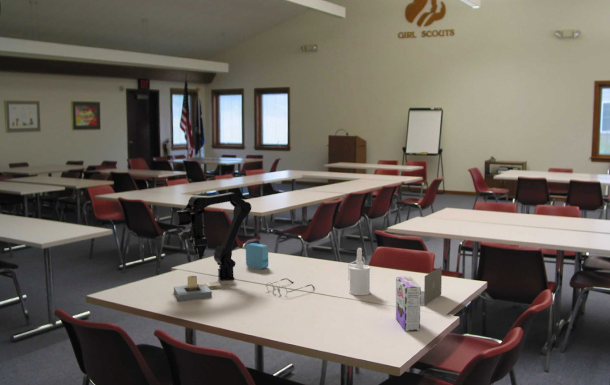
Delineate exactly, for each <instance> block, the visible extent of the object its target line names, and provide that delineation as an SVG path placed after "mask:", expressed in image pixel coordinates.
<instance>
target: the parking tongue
mask: <svg viewBox="0 0 610 385" xmlns="http://www.w3.org/2000/svg"><path fill="white" fill-rule="evenodd" d="M205 284H206V285H207V286H208V288H209V289H210V290H215V289H216V290H217V289H222V284H221V282H220V281H211V282H205Z"/></svg>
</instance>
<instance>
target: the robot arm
mask: <svg viewBox="0 0 610 385" xmlns="http://www.w3.org/2000/svg"><path fill="white" fill-rule="evenodd" d="M187 202H188V203H187V204H186V206H185V208H184V209H183V210H176V211H175V214H174V217H173V223H174V225H175V226H176V227H180V226H181V227H182V226H189V225H190V226H189V228H188V229H186V230H183V231H180V232H179V233H178V237H179V238H180V241H181V242H184V241H186V240H188V241H189V242H190V243H191V244H192V248H193V251H194V255H195V256H196V255H197V256H198V259H199V260H202V258H203V256H204V254H205V251H206V248H207V246H208V245H209V239H207V238H206V237H205V236H206V235H205V234H204V233H205V232H204V231H205V230H204V229H205V225H204V214H208V211H207V210H206V208H209V207H210V206H213V205H217V204H218V205H219V204H224V203H228V202H229V203H230V205H231V206H232V207H233V211H232V213H233V218H232V220H231V222H230V225H229V227H228V230H227V232H226V235H225V237H224V240H223V241H222V244H221V245H217V246H215V247H216V248H215V250H214V252H213V253H212V254H213V259H214V261H215V262H216V264H217V265H218V267H219V268H218V269H217V270H218V271H217V275H218V276H217V277H218V278H219V279H220V280H221V281H229V280H235V277H234V267H235V266H236V262H235V261H234V260H233V259H232V256H233V246H234V243H235V242H236V238H237V236H238V233H239V232H240V229H241V226H242V224H243V222H244V220H245V219H246V218H248V216H249V214H250V213H251V212H252V209H253V208H252V205H251V203H250V202H249V201H246V200H245V199H243V198H242V197H240V196H239V195H237V193H235V192H226V193H221V194H216V195H215V194H214V195H209V196H200V195H197V196H196V195H195V196H194V195H193V196H191V197H189V199H188V201H187Z"/></svg>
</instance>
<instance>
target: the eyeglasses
mask: <svg viewBox="0 0 610 385" xmlns="http://www.w3.org/2000/svg"><path fill="white" fill-rule="evenodd" d="M284 280H288V281H289V282H290V283H291V284H294V283H295V282H294V281H292V280H290V279H289V278H283V279H280V280H277V281H274V282H269V281H268V282H267V283H266V285H265V287H266V289H267V291H268V292H269V293H270V290H269V289H268V286H272V288H273V289H272V290H273V291H272V292H271V293H272V294H273V293H274V292H275V288H276V289H277V293H278V294H279V295H280V296H282V293H281V289H280V287H278V286H275V285H273V284H275V283H278V282H281V281H284ZM310 286H312V289H313V290H314V289H315V286H314V285H313V284H307V285H305V286H301V287H299V288H295V289H293V290H289V291H288V290H287V288H286V287H285V286H284V285H282V287H283V288H284V289H285V291H286V293H285V296H288V293H292V292H294V291H297V290H300V289H303V288H307V287H310Z"/></svg>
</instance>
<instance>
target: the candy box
mask: <svg viewBox="0 0 610 385" xmlns="http://www.w3.org/2000/svg"><path fill="white" fill-rule="evenodd" d="M421 291H422V288H421V285H420V284H418V283H417V282H416V281H415V280H414V279H413V278H412V277H411V276H396V277H395V320H396V321H397V322H398V323H399V325H400V326H401V328H402V329H403V330H404V332H420V331H421V305H420V299H421Z"/></svg>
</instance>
